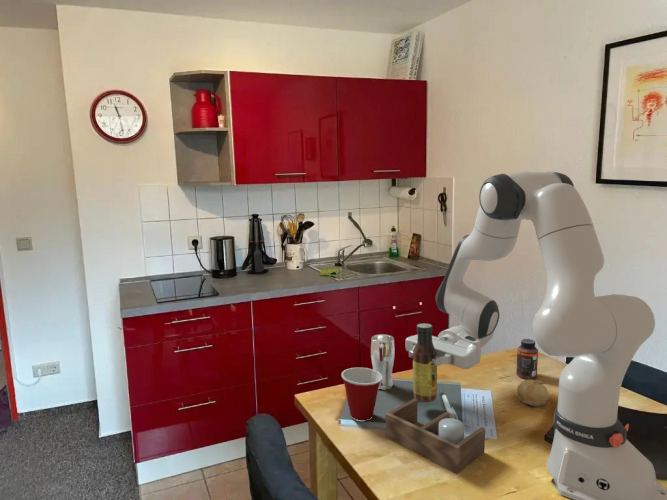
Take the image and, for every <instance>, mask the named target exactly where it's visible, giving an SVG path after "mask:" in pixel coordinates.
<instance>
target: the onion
mask: <svg viewBox="0 0 667 500" xmlns="http://www.w3.org/2000/svg"><path fill="white" fill-rule="evenodd" d="M541 379H542V378H541V377H539V379H538V380H536V379H524V380H523V381H521V382H520V383H519V384H518V385H517V389H516V394H517V397H518V399H519V400H520V401H521V402H522V404H524V405H526V406H528V405H529V406H532V407H541V406H544V405H546V403H547V402H548V399H549V392H548V391H549V390H548V389H547V387H546V386H545V385H544V381H542V380H541Z"/></svg>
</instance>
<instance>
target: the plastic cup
mask: <svg viewBox="0 0 667 500" xmlns="http://www.w3.org/2000/svg"><path fill="white" fill-rule="evenodd" d="M341 378H342V381H343V385H344V388H345V389H344V390H345V394H346V400H347V406H348V408H349V414H350V417H351V416H352V417H353V418H355V419H358V420H367V419H370V418H371V417H372V416H374V412H375V407H376V403H377V402H376V401H377V397H378V396H377V395H378V391H379V390H378V388H379V385H380V382H381V380H382V379H383V377H382V374H380V373H379V372H378V371H375V370H373V368H372V369H371V368H368V367H351V368H347V369H344V370H343V371H341ZM372 418H373V417H372Z"/></svg>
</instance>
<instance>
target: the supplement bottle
mask: <svg viewBox="0 0 667 500" xmlns="http://www.w3.org/2000/svg"><path fill="white" fill-rule="evenodd" d="M516 351H517V352H516V369H515V370H516V375H517V376H518V377H519V378H521V379H524V380H528V379H529V380H535V378H537V376H538V362H539V361H538V360H539V349H538V348H537V347H536V341H535V339H532V338H522V339H521V341H520V345H518V346H517V350H516Z"/></svg>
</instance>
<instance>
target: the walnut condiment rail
mask: <svg viewBox="0 0 667 500" xmlns="http://www.w3.org/2000/svg"><path fill="white" fill-rule="evenodd" d="M418 404H419V401H418V400H417V399H415V398H414V397H413V398H412V399H411V400H408V402H405V403H403V404H401V405H400V406H398V407H396V408H393V409H392V410H390V411H389V412H387V413H386V414H385V438H387V439H389V440H390V441H392V442H395V443H396V444H398V445H400V446H402V447H404V448H406V449H408V450H410V451H412V452H413V453H416V454H417V455H419V456H421V457H423V458H425V459H427V460H429V461H431V462H433V463H435V464H437V466H438V465H439V466H441V467H443V468H444V469H446V470H448V471H451V472H452V473H454V474H456V475H458V474H459V473H460V472H462V471H463V470H464V469H466V468H467V467H468V466H469V465H471V464H472V463H473V462H474V461H476V460H477V459H478V458H480V457H481V456H482V455H483V454H484V453H485V450H486V449H485V446H486V428H485V427H483V426H480V427H478V429H476V430H474V431H473V432H472V433H470V434H469V435H467V436H466V437H464V439H463V440H462V441H460V442H459V443H458V444H454V443H452V442H450V441H448V440H446V439H444V438H442V437H439V422H440V421H441V420H442V419H446V418H450V412H448V411H445V412H443V413H441V414H440V415H438V416H436V417H435V418H433V419H432V420H430V421H429V422H427V423H425V424H424V423H421V422H419V421H418V407H419V406H418Z"/></svg>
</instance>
